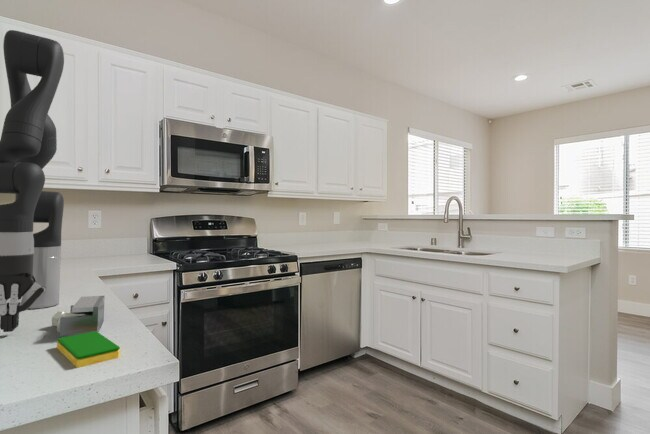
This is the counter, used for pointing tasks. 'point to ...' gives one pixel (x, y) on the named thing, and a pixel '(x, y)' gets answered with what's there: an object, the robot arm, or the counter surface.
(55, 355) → the counter surface
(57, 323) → the pipe fitting
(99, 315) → the bracket
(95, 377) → the counter surface
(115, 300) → the counter surface
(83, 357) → the dish sponge
